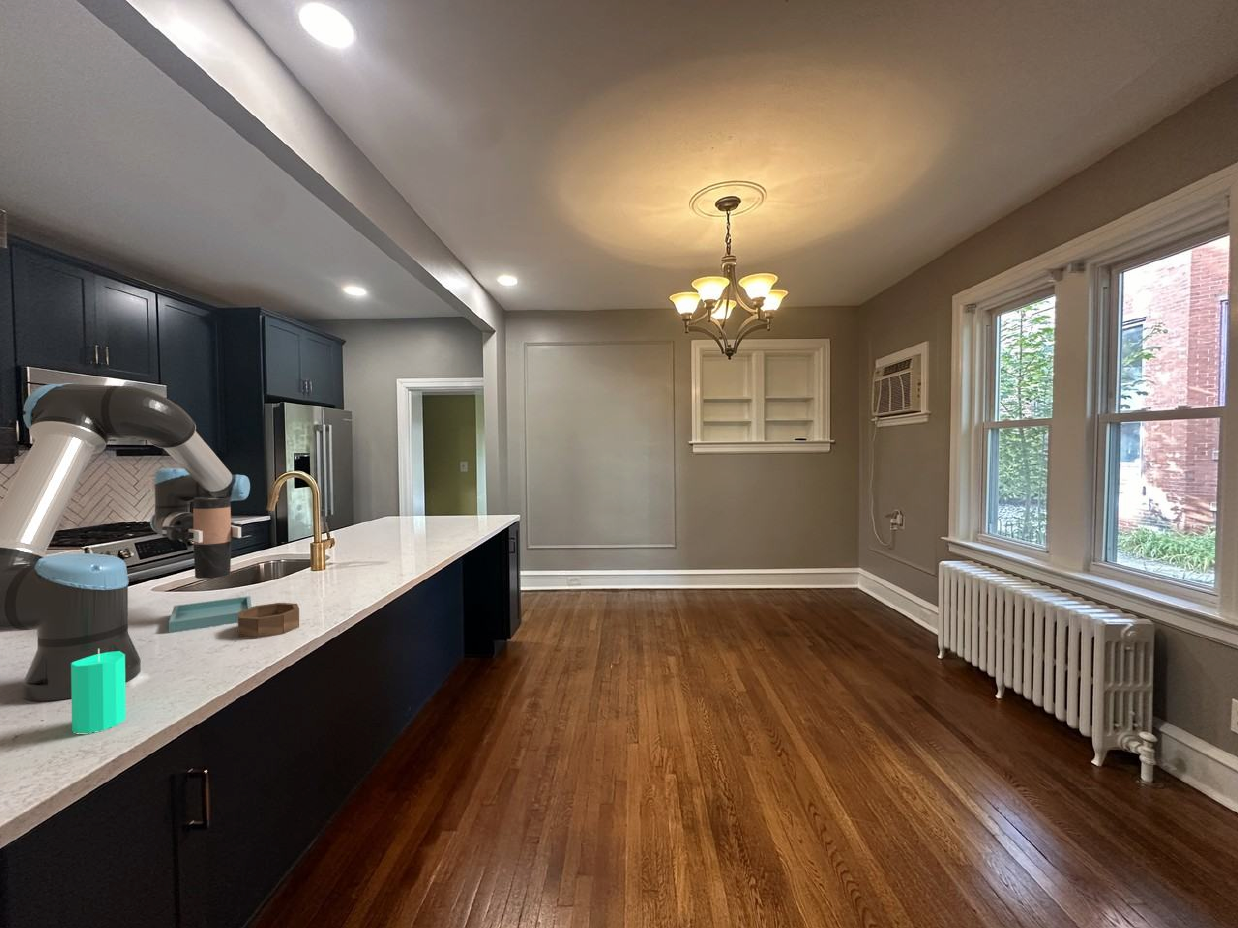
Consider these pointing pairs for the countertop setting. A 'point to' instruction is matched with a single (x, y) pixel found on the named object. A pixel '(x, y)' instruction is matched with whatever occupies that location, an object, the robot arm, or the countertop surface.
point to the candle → (98, 692)
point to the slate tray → (207, 613)
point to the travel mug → (212, 537)
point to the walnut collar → (268, 620)
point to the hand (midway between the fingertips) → (220, 534)
